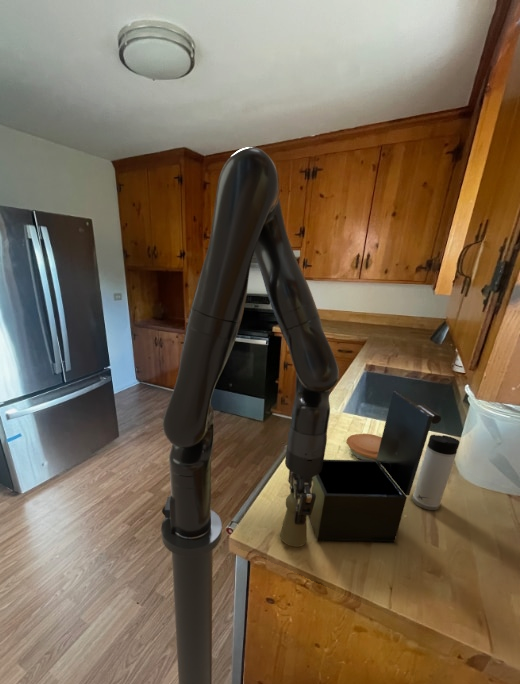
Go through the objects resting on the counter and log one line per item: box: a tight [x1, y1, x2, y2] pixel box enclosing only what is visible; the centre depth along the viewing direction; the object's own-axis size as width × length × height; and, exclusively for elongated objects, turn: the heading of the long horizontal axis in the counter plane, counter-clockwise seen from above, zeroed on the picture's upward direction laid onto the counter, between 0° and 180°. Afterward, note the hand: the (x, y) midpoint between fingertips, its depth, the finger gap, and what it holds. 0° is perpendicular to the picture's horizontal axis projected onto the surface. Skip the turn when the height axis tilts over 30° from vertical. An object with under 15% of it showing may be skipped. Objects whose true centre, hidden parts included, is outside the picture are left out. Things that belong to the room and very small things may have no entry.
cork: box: [279, 493, 308, 547], centre depth 73 cm, size 6×6×11 cm
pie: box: [346, 433, 382, 462], centre depth 111 cm, size 15×16×5 cm
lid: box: [377, 390, 442, 496], centre depth 73 cm, size 19×15×6 cm
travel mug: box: [412, 434, 461, 511], centre depth 85 cm, size 6×7×20 cm
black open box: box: [308, 459, 408, 544], centre depth 80 cm, size 18×15×13 cm
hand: (296, 513), depth 73 cm, fingers closed on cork, 5 cm apart
